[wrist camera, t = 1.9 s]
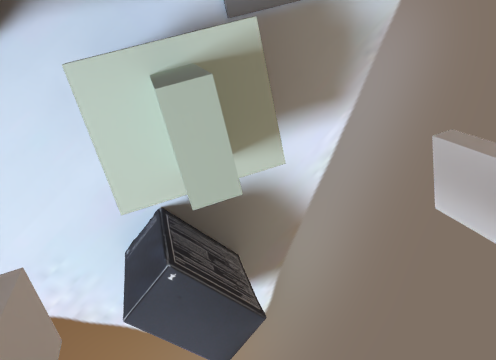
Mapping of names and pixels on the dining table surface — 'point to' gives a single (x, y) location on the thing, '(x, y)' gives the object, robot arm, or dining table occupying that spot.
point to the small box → (188, 289)
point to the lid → (180, 115)
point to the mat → (250, 6)
